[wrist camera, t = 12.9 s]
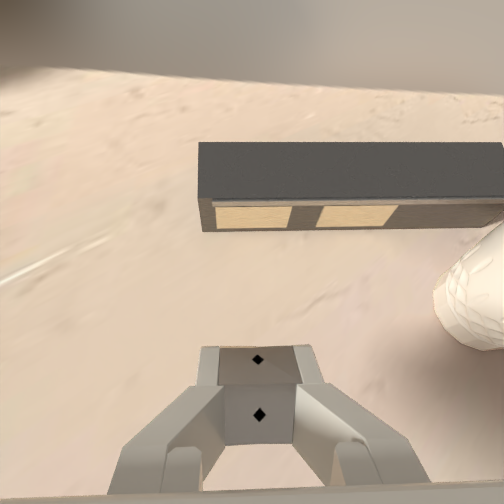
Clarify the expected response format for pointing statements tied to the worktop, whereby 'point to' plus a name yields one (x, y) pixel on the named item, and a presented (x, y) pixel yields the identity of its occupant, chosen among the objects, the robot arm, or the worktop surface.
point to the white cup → (475, 295)
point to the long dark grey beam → (348, 185)
